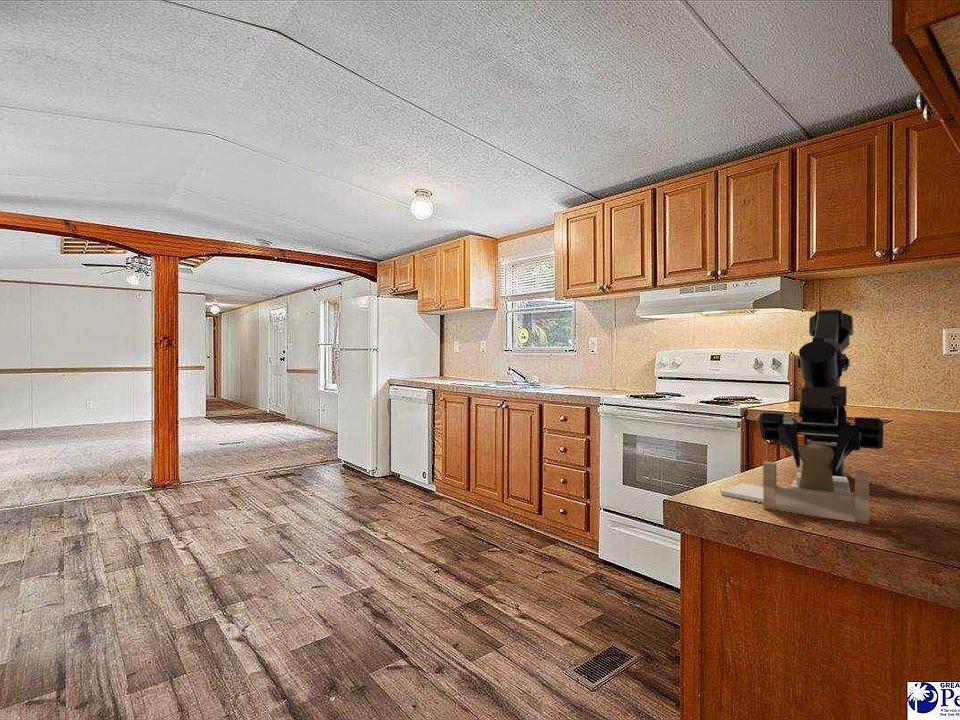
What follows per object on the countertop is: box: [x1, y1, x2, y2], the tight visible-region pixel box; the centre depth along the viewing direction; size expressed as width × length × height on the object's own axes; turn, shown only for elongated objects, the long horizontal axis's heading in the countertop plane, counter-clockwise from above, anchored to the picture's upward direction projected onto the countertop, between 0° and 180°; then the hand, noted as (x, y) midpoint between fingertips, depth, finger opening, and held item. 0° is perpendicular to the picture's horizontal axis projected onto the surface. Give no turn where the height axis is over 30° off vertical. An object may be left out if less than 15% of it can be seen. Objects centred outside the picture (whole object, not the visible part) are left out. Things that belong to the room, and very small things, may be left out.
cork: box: [799, 444, 835, 493], centre depth 92 cm, size 6×6×11 cm
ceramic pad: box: [720, 483, 763, 504], centre depth 100 cm, size 8×8×1 cm
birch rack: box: [762, 460, 870, 525], centre depth 88 cm, size 2×15×8 cm, turn 54°
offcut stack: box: [789, 472, 851, 494], centre depth 98 cm, size 5×9×4 cm, turn 53°
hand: (816, 468), depth 91 cm, fingers closed on cork, 5 cm apart
